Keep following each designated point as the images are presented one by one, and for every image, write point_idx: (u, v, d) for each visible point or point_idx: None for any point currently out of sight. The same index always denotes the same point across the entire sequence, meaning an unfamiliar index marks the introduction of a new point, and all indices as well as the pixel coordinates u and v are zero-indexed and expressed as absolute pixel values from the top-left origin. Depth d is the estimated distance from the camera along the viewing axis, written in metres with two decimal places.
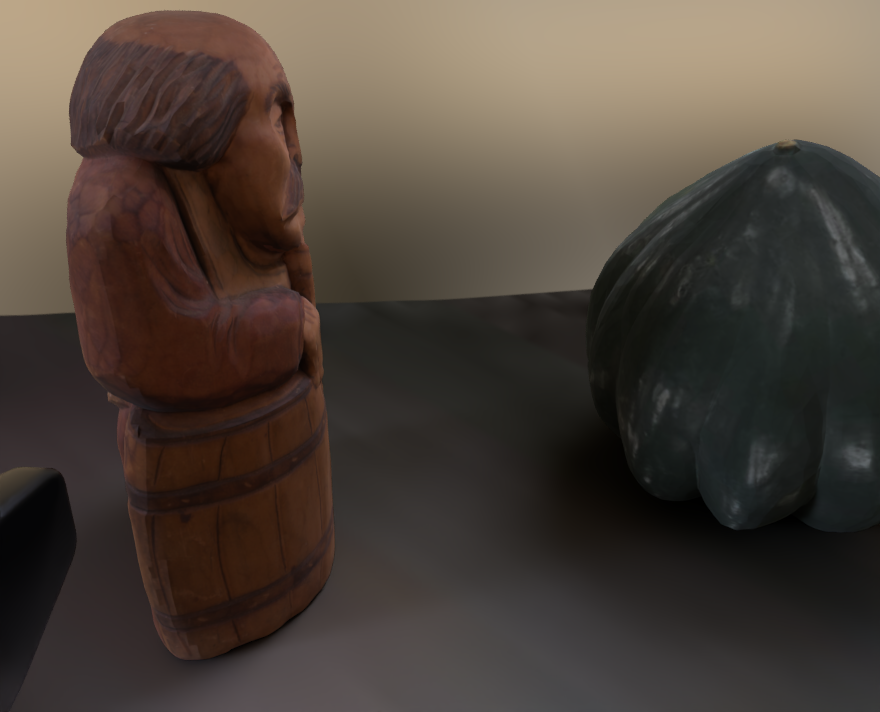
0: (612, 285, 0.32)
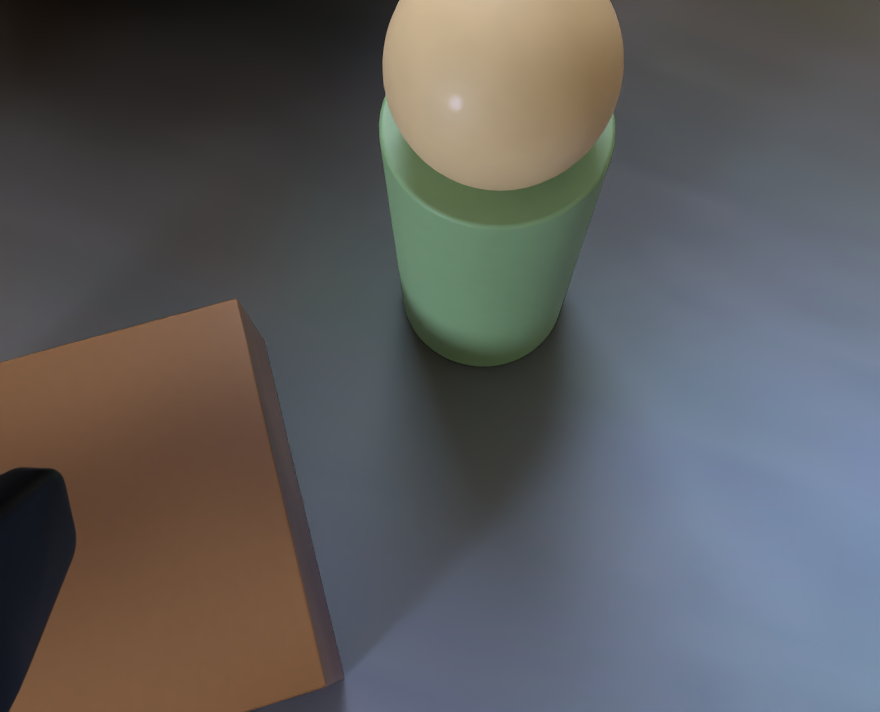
0: None
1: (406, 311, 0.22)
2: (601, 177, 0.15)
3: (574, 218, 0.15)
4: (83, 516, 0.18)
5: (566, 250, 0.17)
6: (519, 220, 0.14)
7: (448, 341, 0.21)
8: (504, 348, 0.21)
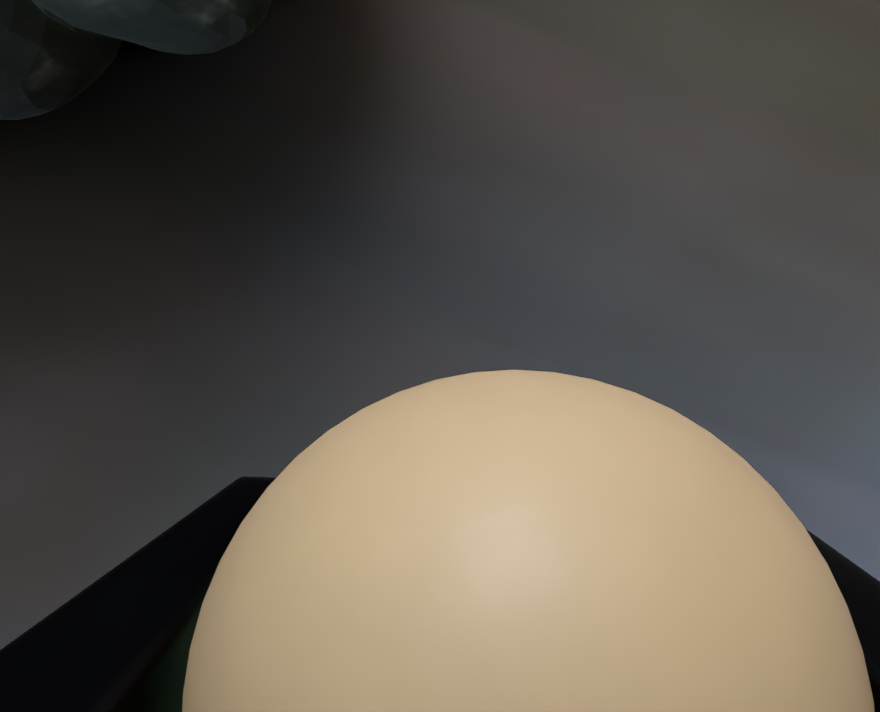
0: None
1: None
2: None
3: None
4: None
5: None
6: None
7: None
8: None
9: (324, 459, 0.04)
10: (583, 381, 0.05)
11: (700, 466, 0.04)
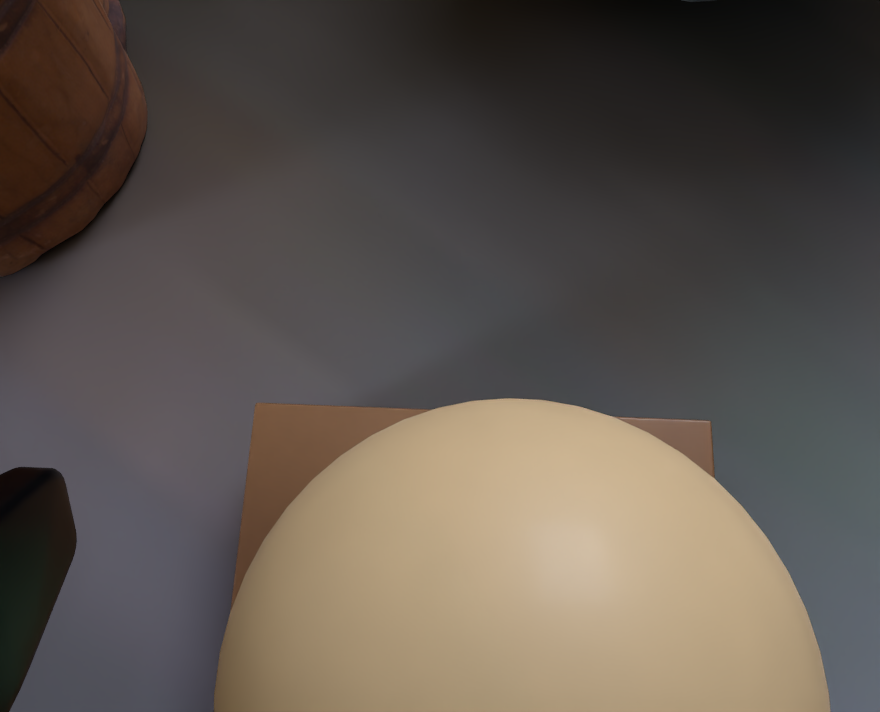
0: None
1: None
2: None
3: None
4: None
5: None
6: None
7: None
8: None
9: (340, 483, 0.05)
10: (568, 408, 0.05)
11: (672, 488, 0.05)
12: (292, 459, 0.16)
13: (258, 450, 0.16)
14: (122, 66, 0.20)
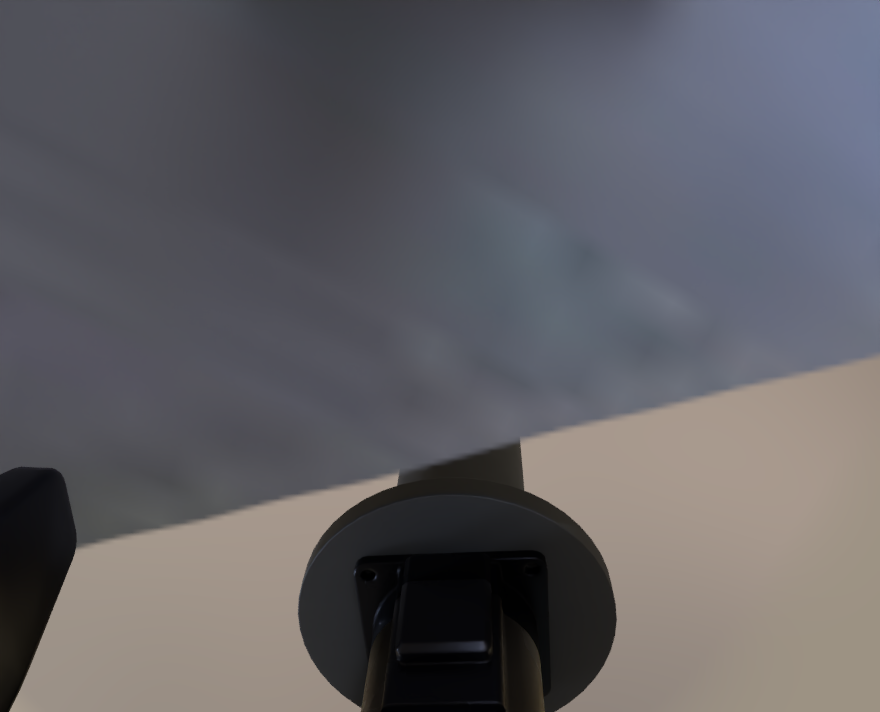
0: None
1: None
2: None
3: None
4: None
5: None
6: None
7: None
8: None
9: None
10: None
11: None
12: None
13: None
14: None
